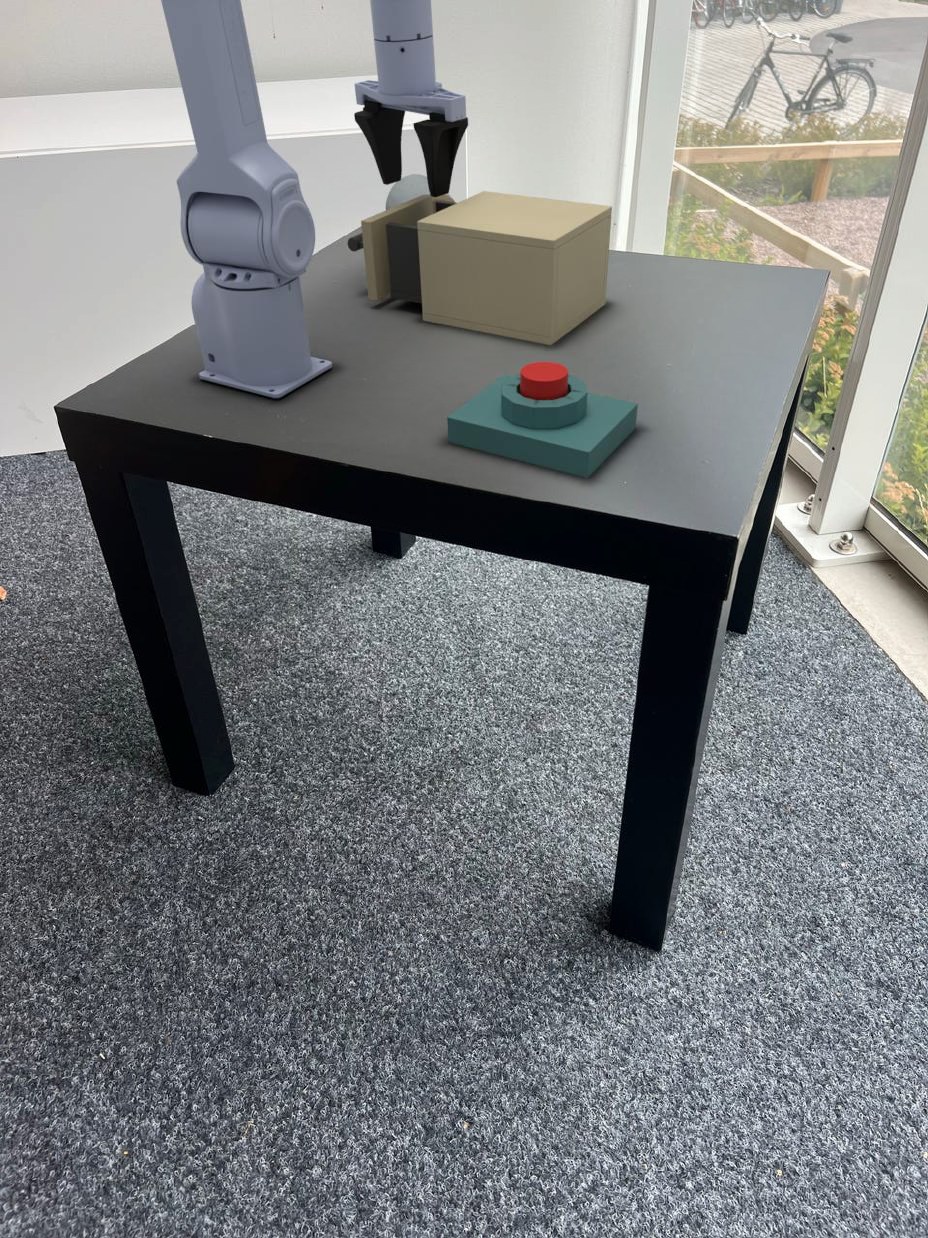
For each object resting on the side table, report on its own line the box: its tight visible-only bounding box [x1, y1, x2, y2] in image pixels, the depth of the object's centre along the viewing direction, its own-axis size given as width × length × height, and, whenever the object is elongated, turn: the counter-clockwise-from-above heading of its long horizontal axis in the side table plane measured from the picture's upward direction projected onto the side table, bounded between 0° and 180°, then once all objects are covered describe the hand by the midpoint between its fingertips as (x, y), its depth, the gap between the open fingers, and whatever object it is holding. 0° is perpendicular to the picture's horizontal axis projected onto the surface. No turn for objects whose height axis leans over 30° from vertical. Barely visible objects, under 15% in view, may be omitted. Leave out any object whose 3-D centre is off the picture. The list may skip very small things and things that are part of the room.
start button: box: [519, 361, 569, 400], centre depth 67 cm, size 4×4×2 cm
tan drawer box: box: [417, 190, 613, 346], centre depth 88 cm, size 15×13×10 cm
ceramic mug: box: [385, 173, 456, 214], centre depth 108 cm, size 11×8×8 cm
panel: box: [446, 373, 639, 479], centre depth 69 cm, size 12×9×4 cm
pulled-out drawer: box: [347, 195, 458, 304], centre depth 92 cm, size 18×11×8 cm, turn 59°
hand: (415, 188), depth 94 cm, fingers open, 7 cm apart
